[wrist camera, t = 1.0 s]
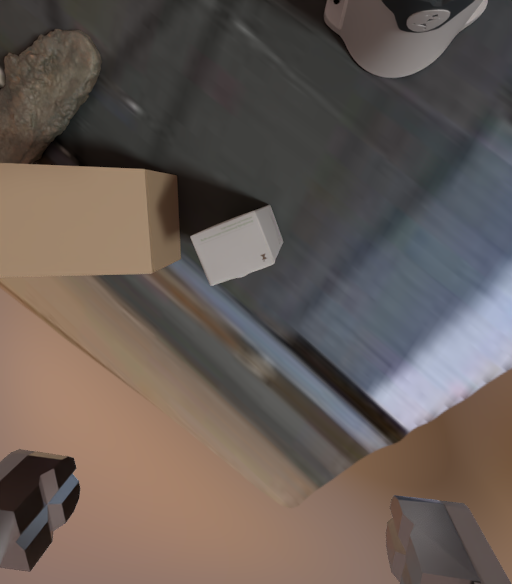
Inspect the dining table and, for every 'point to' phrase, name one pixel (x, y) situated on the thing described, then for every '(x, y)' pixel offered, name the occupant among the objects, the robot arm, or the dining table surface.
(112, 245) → the lid flap
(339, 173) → the dining table surface
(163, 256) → the carton
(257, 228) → the skincare box
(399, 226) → the dining table surface
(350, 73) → the dining table surface
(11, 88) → the long grey stone
